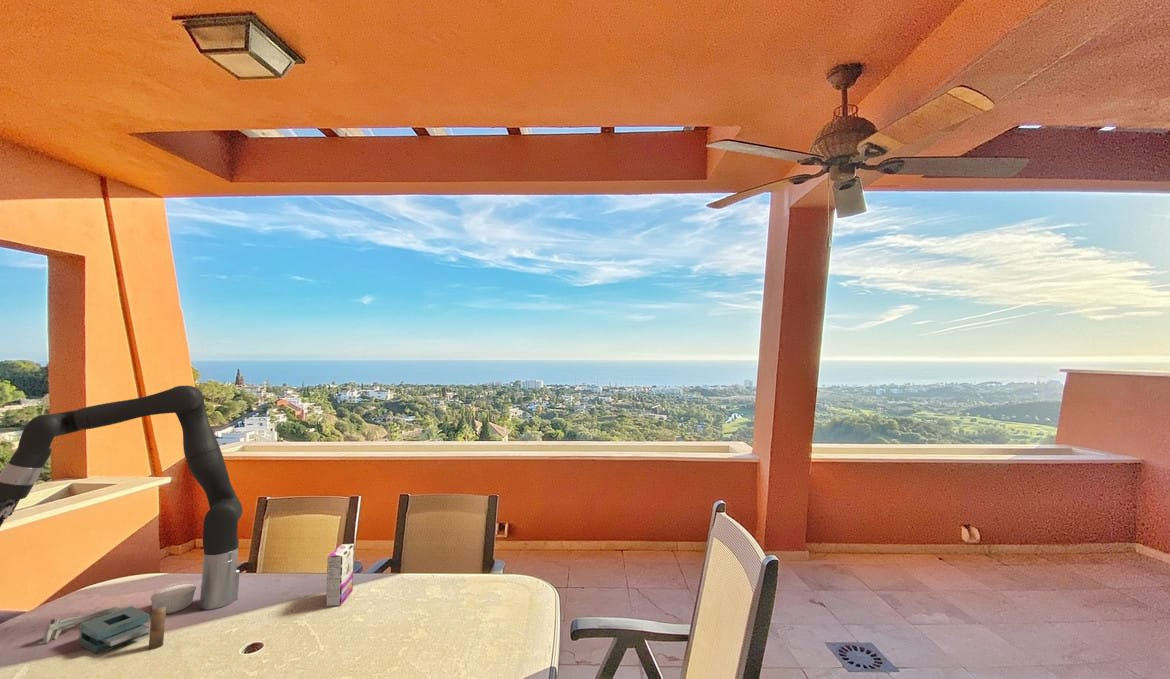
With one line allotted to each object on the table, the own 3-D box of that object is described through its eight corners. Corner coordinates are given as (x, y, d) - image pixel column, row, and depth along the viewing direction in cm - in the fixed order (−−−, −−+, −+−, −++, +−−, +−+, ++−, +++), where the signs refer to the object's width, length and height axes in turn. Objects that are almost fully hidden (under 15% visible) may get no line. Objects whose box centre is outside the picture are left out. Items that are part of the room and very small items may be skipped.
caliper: (46, 645, 128) (49, 622, 128) (42, 645, 128) (45, 621, 128) (121, 608, 148) (123, 588, 149) (118, 608, 148) (120, 588, 149)
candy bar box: (337, 591, 160) (340, 543, 161) (352, 590, 160) (355, 543, 162) (324, 607, 149) (327, 556, 150) (340, 606, 149) (343, 555, 151)
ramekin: (172, 599, 154) (173, 583, 155) (204, 599, 154) (205, 583, 154) (139, 616, 143) (140, 599, 144) (173, 617, 143) (174, 599, 143)
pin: (160, 642, 129) (163, 605, 130) (165, 644, 128) (168, 607, 128) (146, 647, 126) (149, 610, 127) (151, 650, 125) (154, 612, 126)
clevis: (130, 624, 138) (131, 606, 138) (154, 637, 131) (156, 617, 132) (78, 643, 128) (80, 623, 129) (102, 658, 121) (104, 636, 122)
